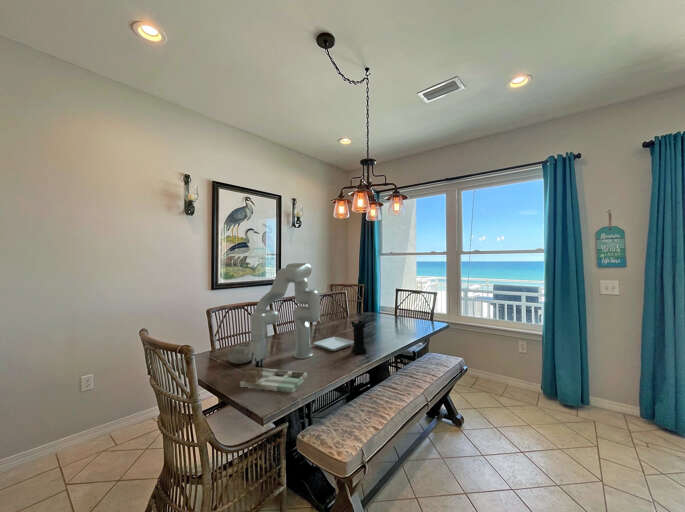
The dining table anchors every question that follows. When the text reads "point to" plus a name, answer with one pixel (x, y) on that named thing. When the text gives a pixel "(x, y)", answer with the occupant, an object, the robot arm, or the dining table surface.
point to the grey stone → (239, 354)
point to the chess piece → (358, 338)
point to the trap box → (277, 380)
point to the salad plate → (334, 343)
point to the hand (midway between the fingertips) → (259, 372)
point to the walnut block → (253, 374)
